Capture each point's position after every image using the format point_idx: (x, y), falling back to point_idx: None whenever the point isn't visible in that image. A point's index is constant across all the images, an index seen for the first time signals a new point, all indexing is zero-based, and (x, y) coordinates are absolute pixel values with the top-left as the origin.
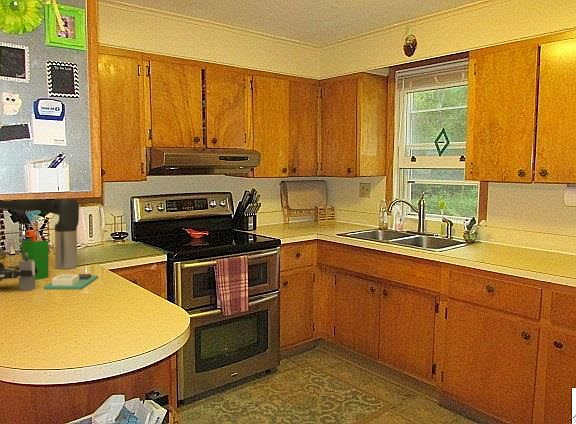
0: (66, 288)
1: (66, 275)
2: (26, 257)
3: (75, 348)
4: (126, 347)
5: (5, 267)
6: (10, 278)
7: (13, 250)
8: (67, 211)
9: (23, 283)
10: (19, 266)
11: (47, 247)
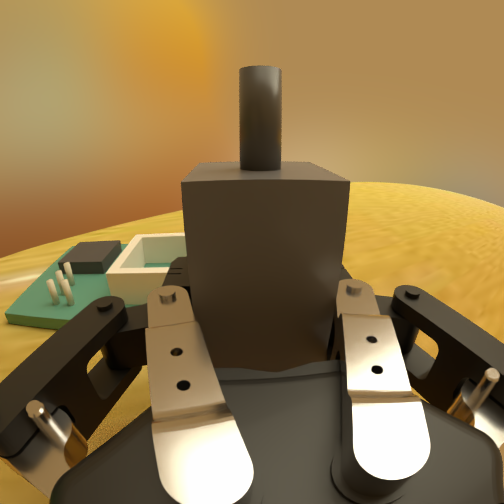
0: None
1: (129, 256)
2: (280, 126)
3: (495, 211)
4: (464, 197)
5: (377, 461)
6: (430, 368)
7: None
8: None
9: None
10: (340, 248)
11: None
